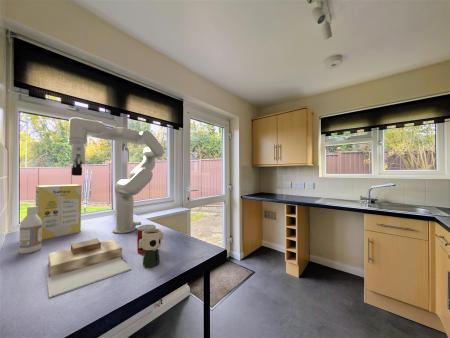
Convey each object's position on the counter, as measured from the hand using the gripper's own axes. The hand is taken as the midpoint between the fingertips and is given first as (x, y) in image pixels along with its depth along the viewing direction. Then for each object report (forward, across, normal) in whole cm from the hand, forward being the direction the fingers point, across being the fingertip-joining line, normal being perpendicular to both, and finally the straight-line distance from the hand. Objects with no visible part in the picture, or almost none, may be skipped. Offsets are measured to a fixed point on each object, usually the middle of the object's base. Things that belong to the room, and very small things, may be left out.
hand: (76, 175), depth 95 cm
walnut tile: (+30, -26, -2) cm, 40 cm away
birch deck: (+34, -28, -2) cm, 44 cm away
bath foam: (+35, +1, +15) cm, 38 cm away
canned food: (+34, -35, -23) cm, 54 cm away
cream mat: (+34, -42, -1) cm, 54 cm away
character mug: (+34, -49, -20) cm, 63 cm away
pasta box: (+34, +23, +5) cm, 42 cm away
